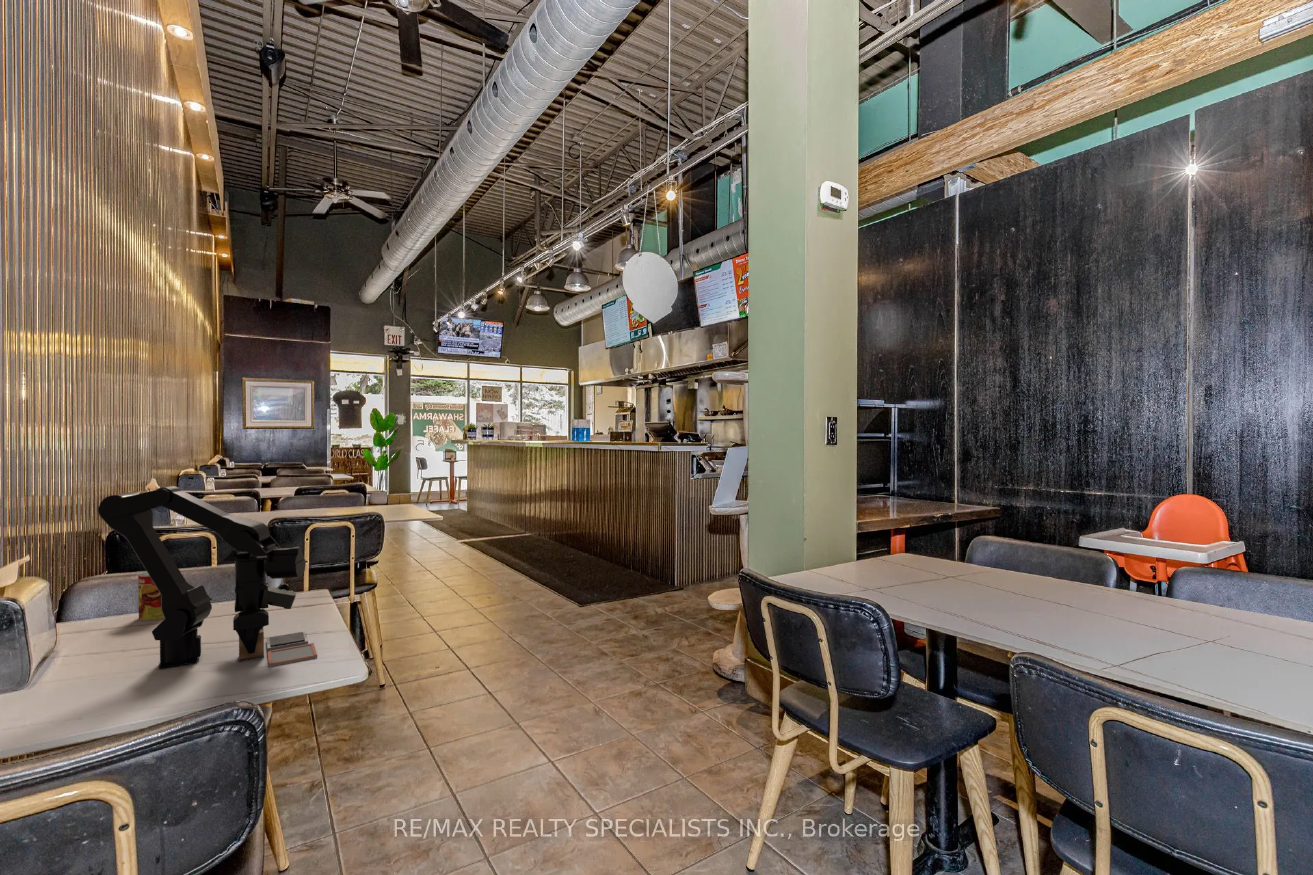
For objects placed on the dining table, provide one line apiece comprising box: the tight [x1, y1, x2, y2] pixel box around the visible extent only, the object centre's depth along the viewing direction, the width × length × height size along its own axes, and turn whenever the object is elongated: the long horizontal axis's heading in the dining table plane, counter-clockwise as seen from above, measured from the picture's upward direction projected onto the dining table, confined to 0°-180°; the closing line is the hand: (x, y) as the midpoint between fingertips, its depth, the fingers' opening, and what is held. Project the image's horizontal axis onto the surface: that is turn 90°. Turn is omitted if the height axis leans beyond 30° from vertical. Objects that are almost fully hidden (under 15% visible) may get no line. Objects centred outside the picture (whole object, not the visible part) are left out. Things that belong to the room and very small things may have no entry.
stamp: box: [238, 627, 265, 663], centre depth 133 cm, size 4×4×6 cm
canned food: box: [137, 570, 165, 622], centre depth 163 cm, size 8×8×12 cm
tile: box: [267, 642, 318, 667], centre depth 134 cm, size 9×9×1 cm
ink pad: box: [266, 631, 309, 652], centre depth 142 cm, size 8×8×1 cm
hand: (251, 649), depth 133 cm, fingers closed on stamp, 4 cm apart
